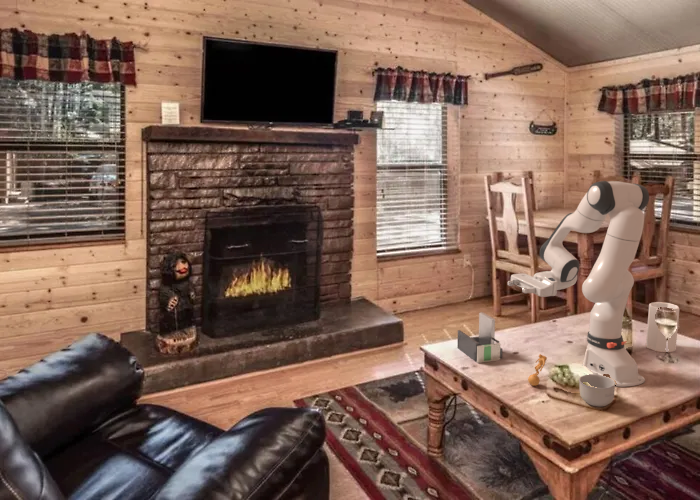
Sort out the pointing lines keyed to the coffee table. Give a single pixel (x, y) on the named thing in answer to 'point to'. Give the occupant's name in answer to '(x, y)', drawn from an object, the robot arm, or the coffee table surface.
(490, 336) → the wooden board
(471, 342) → the gauge housing
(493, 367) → the coffee table surface
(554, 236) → the robot arm
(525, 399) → the coffee table surface
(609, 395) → the teacup
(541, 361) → the figurine
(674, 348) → the cup
